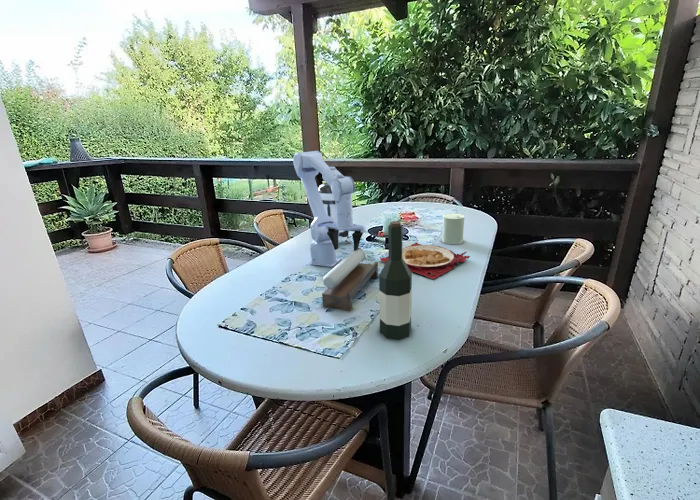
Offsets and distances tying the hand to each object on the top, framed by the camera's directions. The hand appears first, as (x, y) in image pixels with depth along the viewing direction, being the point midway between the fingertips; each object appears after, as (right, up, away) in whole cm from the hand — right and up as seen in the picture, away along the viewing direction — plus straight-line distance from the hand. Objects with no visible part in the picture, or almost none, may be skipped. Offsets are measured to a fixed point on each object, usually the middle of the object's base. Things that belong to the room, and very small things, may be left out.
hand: (346, 249), depth 131 cm
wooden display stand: (+2, -13, -10) cm, 17 cm away
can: (+47, +4, +32) cm, 57 cm away
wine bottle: (+14, -22, -34) cm, 42 cm away
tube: (+1, -8, -11) cm, 14 cm away
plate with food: (+30, -5, +12) cm, 33 cm away
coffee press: (-4, +3, +37) cm, 37 cm away
